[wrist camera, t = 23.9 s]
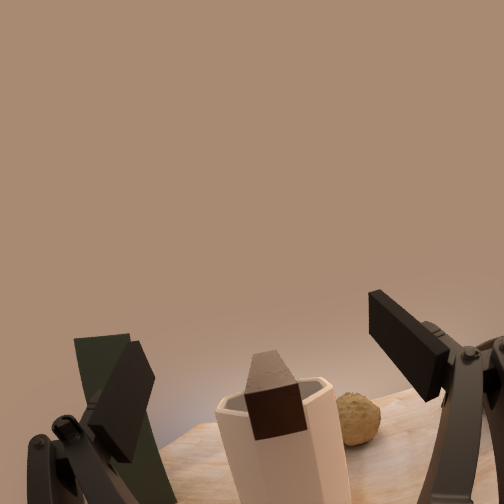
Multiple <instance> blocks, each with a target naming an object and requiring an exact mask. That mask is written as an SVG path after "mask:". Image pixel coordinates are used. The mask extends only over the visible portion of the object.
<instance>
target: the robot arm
mask: <svg viewBox="0 0 504 504" xmlns="http://www.w3.org/2000/svg"><path fill="white" fill-rule="evenodd" d="M368 295H369V334H370V335H371V336H372V337H373V338H374V339H375V341H376V342H377V343H378V344H379V346H380V347H381V348H382V349H383V350H384V352H385V353H386V354H387V355H388V356H389V358H390V359H391V360H392V361H393V363H394V364H395V365H396V366H397V368H398V369H399V370H400V371H401V372H402V374H403V375H404V376H405V377H406V378H407V380H408V381H409V382H410V384H411V385H412V386H413V387H414V389H415V390H416V391H417V392H418V394H419V395H420V396H421V397H422V399H423V400H424V401H425V403H426V402H428V401H430V400H432V399H434V398H436V397H438V396H439V393H440V390H441V387H442V388H443V389H444V390H445V391H446V393H445V396H444V399H443V402H442V405H441V407H442V414H441V419H440V424H439V429H438V434H437V438H436V442H435V446H434V450H433V454H432V458H431V462H430V465H429V469H428V472H427V475H426V478H425V482H424V485H423V488H422V490H421V493H420V496H419V499H418V502H417V504H473V501H472V500H471V493H472V488H473V484H474V479H475V473H476V468H477V461H478V455H479V447H480V438H481V427H482V411H483V402H484V406H485V410H486V414H487V419H488V423H489V428H490V433H491V438H492V444H493V450H494V456H495V463H496V471H497V481H498V493H499V504H504V337H501V338H498V339H496V340H495V341H494V344H493V347H492V349H489V350H485V351H481V352H480V351H479V350H478V349H477V348H475V347H471V346H465V347H462V346H460V345H459V344H458V343H457V342H456V341H455V340H453V339H452V338H451V337H450V336H448V335H447V334H446V333H445V332H444V331H442V330H441V329H440V328H439V327H438V326H436V325H435V324H433V323H430V322H428V321H424V322H422V323H420V322H419V321H417V320H416V319H415V318H414V317H413V316H412V315H410V314H409V313H408V312H407V311H406V310H405V309H403V308H402V307H401V306H400V305H398V304H397V303H396V302H395V301H394V300H392V299H391V298H390V297H389V296H388V295H386V294H385V293H384V292H383V291H381V290H376V291H373V292H369V293H368ZM154 381H155V376H154V374H153V371H152V369H151V367H150V365H149V363H148V360H147V358H146V356H145V354H144V352H143V349H142V346H141V344H140V342H139V341H132V342H127V344H126V346H125V347H124V349H123V351H122V353H121V355H120V357H119V359H118V361H117V363H116V365H115V367H114V369H113V371H112V373H111V375H110V377H109V379H108V381H107V383H106V385H105V387H104V389H103V390H98V391H97V392H96V393H95V394H94V395H93V396H92V398H91V400H90V402H89V404H88V406H87V408H86V410H85V412H84V414H83V416H82V418H81V420H80V422H79V423H78V422H77V421H76V419H75V418H74V417H73V416H72V415H64V416H61V417H59V418H57V419H56V420H55V421H54V423H53V425H52V431H53V432H54V434H55V435H56V436H57V437H58V439H59V440H54V441H51V440H50V439H49V438H48V437H47V436H46V435H44V434H39V435H36V436H34V437H33V438H32V439H31V440H30V442H29V445H28V459H27V501H28V503H27V504H85V503H84V498H83V494H84V496H85V498H86V500H87V502H88V504H139V503H138V501H137V500H136V499H135V497H134V496H133V495H132V493H131V492H130V490H129V489H128V488H127V486H126V485H125V483H124V482H123V480H122V479H121V477H120V476H119V474H118V473H117V471H116V469H115V468H114V466H113V465H112V464H111V463H110V459H111V456H112V457H113V458H114V459H115V460H116V461H117V462H118V463H130V464H132V461H133V457H134V453H135V449H136V446H137V442H138V438H139V434H140V430H141V427H142V423H143V419H144V416H145V412H146V408H147V405H148V401H149V398H150V394H151V391H152V387H153V384H154ZM82 492H83V493H82Z"/></svg>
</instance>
